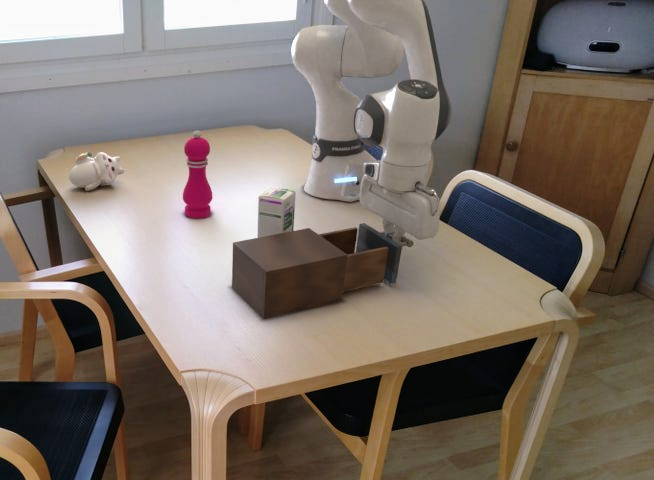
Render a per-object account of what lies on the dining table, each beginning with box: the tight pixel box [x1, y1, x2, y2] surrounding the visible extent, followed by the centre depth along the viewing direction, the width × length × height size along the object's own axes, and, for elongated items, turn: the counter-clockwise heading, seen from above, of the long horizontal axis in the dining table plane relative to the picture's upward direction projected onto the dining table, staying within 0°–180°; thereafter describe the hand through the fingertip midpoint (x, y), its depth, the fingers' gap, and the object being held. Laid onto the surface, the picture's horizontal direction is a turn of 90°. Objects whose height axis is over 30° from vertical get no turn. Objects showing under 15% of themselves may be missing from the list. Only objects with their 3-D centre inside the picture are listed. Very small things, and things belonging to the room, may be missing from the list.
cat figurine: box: [68, 151, 125, 192], centre depth 182 cm, size 10×8×15 cm
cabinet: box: [231, 227, 348, 320], centre depth 128 cm, size 17×14×10 cm
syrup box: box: [257, 186, 296, 238], centre depth 140 cm, size 6×6×14 cm
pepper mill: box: [182, 130, 213, 219], centre depth 160 cm, size 7×7×20 cm
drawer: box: [317, 222, 414, 293], centre depth 133 cm, size 20×12×8 cm, turn 111°
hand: (391, 243), depth 134 cm, fingers closed, pressing on drawer
